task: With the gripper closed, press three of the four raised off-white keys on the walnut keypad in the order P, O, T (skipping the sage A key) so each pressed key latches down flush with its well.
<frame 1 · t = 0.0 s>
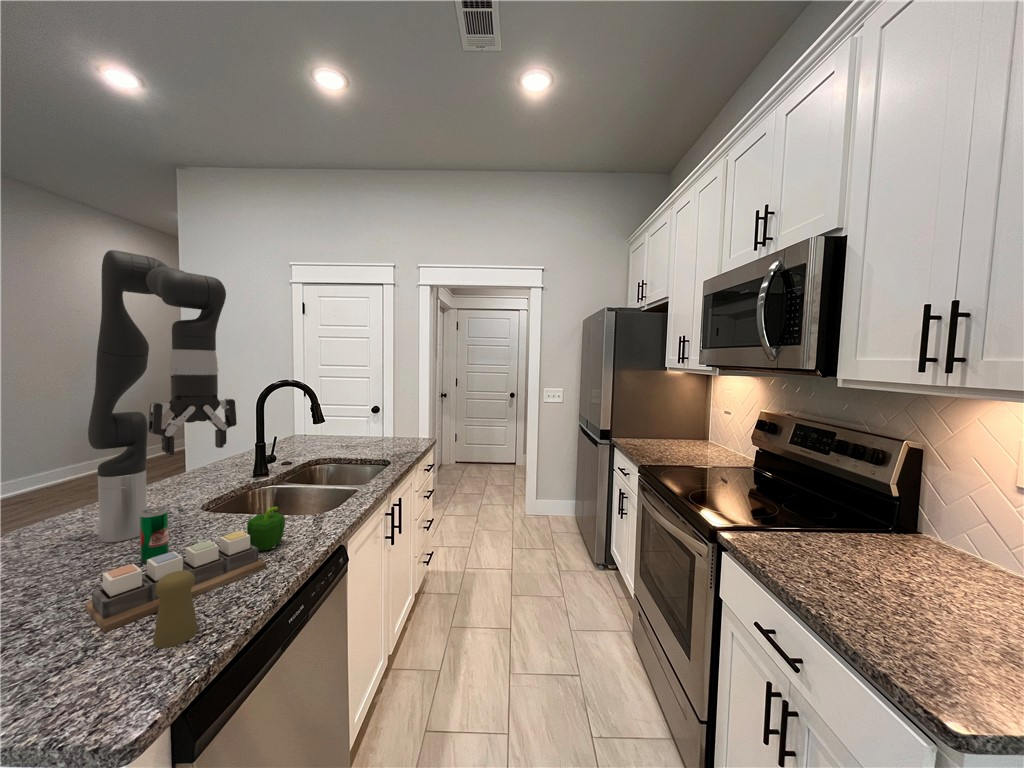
hand: (195, 450, 82), 29 cm above the countertop, fingers open, 8 cm apart
bell pepper: (266, 547, 103), on the countertop
soda can: (154, 559, 96), on the countertop
key T: (165, 564, 81), point 6 cm above the countertop, slide at 0.0 cm
key P: (235, 542, 92), point 6 cm above the countertop, slide at 0.0 cm
cork: (176, 637, 70), on the countertop
keypad: (184, 586, 84), on the countertop
key A: (202, 552, 87), point 6 cm above the countertop, slide at 0.0 cm
key O: (122, 578, 76), point 6 cm above the countertop, slide at 0.0 cm
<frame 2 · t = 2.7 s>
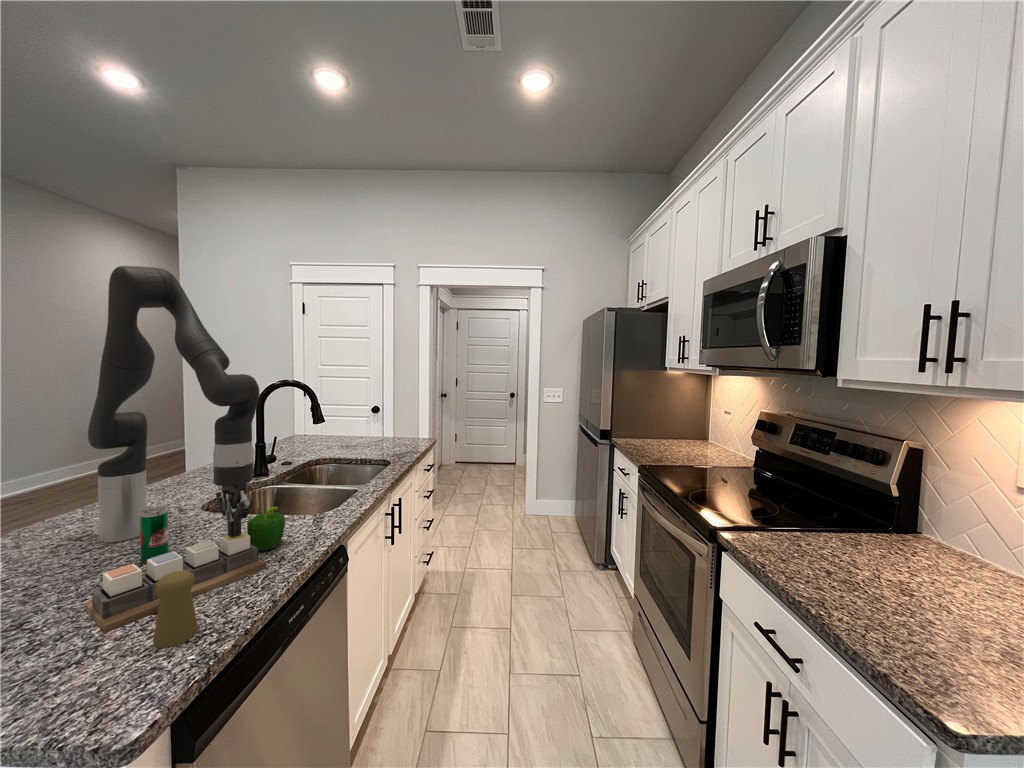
hand: (234, 535, 92), 8 cm above the countertop, fingers closed
key P: (235, 542, 92), point 6 cm above the countertop, slide at 0.1 cm, touching gripper
everything else where it was.
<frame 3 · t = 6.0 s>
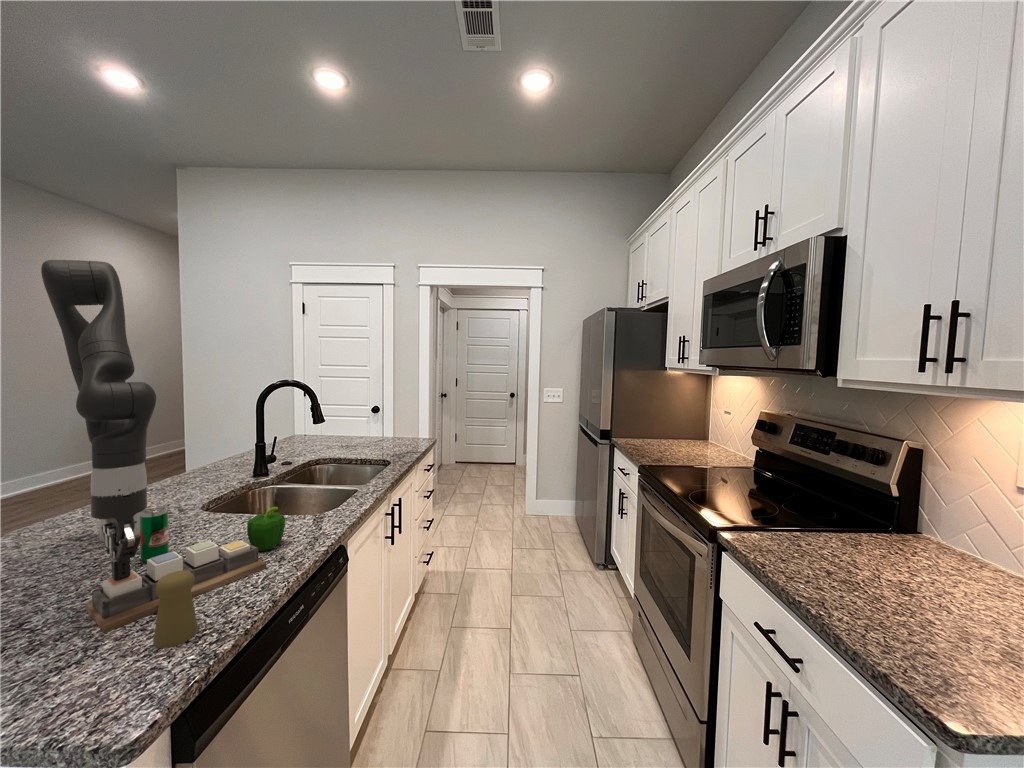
hand: (121, 578, 76), 6 cm above the countertop, fingers closed
key P: (235, 551, 92), point 4 cm above the countertop, slide at 2.3 cm
key O: (122, 586, 76), point 5 cm above the countertop, slide at 1.4 cm, touching gripper
everything else where it was.
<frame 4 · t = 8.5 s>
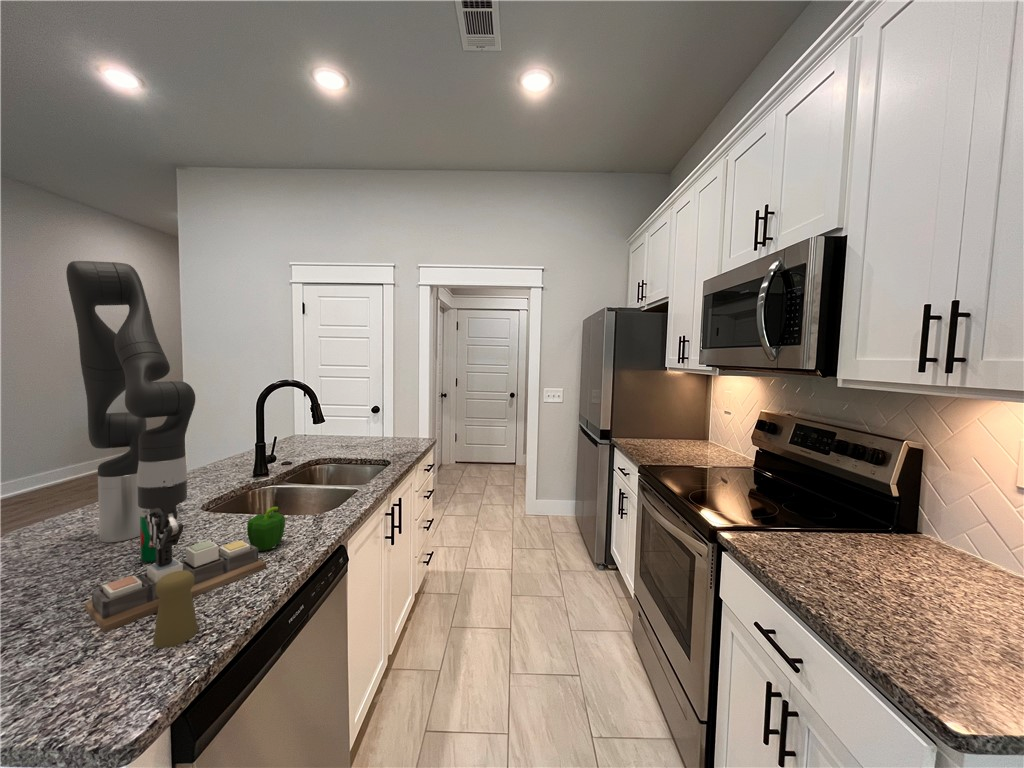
hand: (164, 564, 81), 6 cm above the countertop, fingers closed
key T: (165, 571, 81), point 5 cm above the countertop, slide at 1.4 cm, touching gripper
key O: (122, 590, 76), point 4 cm above the countertop, slide at 2.3 cm
everything else where it was.
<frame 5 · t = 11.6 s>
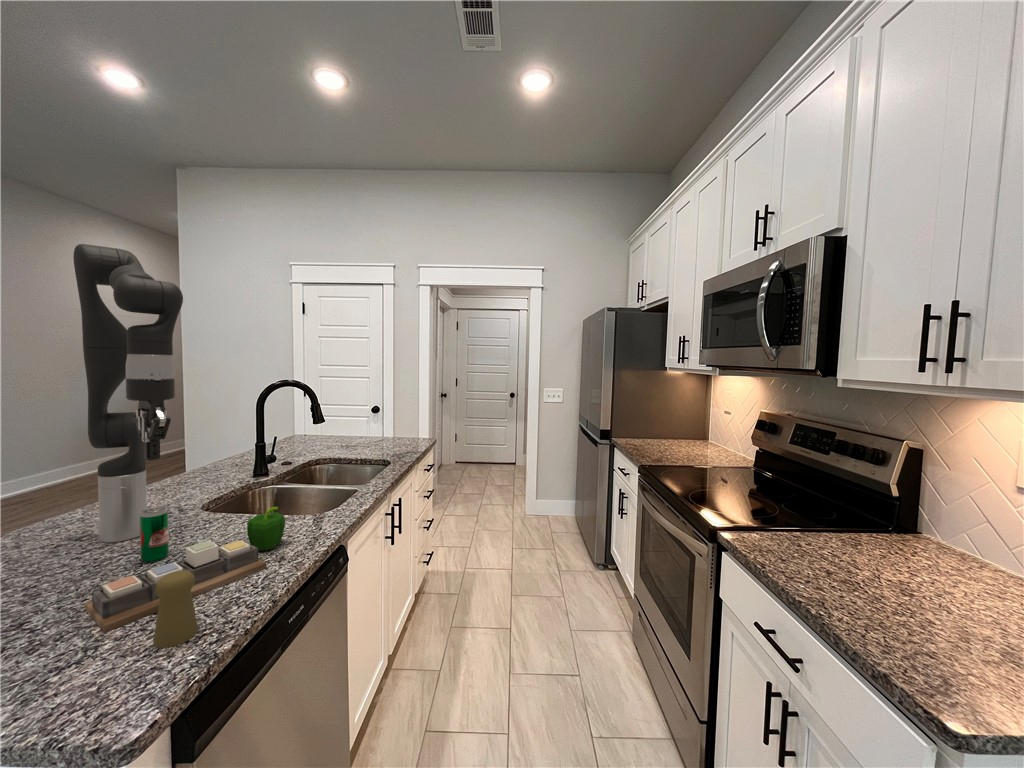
hand: (152, 459, 84), 27 cm above the countertop, fingers closed
key T: (165, 576, 82), point 4 cm above the countertop, slide at 2.3 cm
everything else where it was.
at the end: key P slide at 2.3 cm; key O slide at 2.3 cm; key T slide at 2.3 cm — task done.
